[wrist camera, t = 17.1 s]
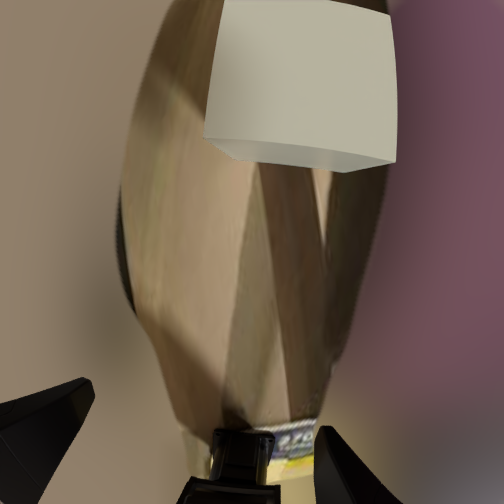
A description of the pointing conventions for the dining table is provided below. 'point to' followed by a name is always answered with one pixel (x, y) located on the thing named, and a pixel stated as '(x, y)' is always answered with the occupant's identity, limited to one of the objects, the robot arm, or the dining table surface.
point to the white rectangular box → (303, 85)
